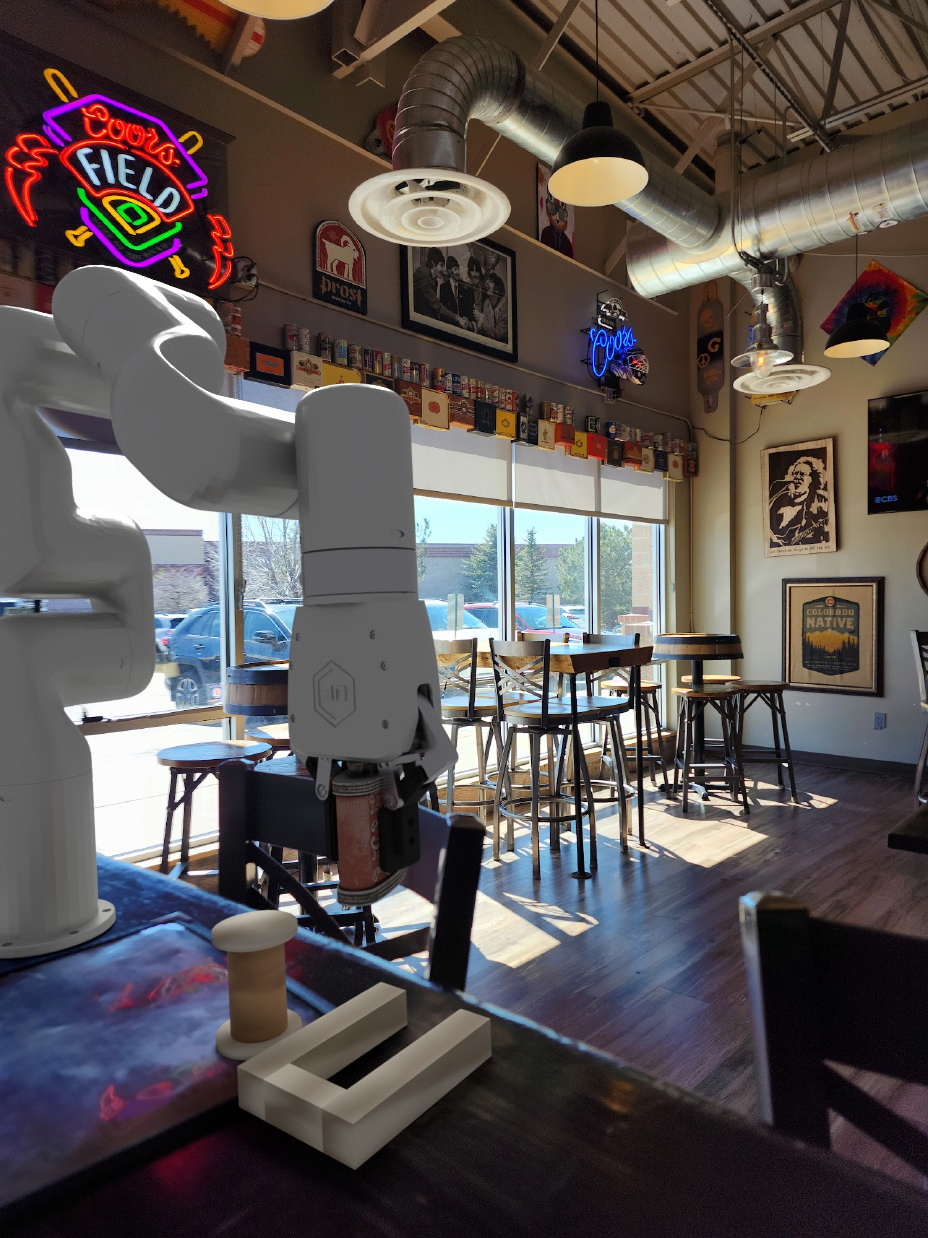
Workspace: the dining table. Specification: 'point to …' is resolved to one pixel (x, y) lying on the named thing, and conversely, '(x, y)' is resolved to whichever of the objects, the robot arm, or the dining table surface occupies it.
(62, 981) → the dining table surface
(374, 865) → the lighter
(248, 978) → the bobbin
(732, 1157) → the dining table surface
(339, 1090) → the notched board
